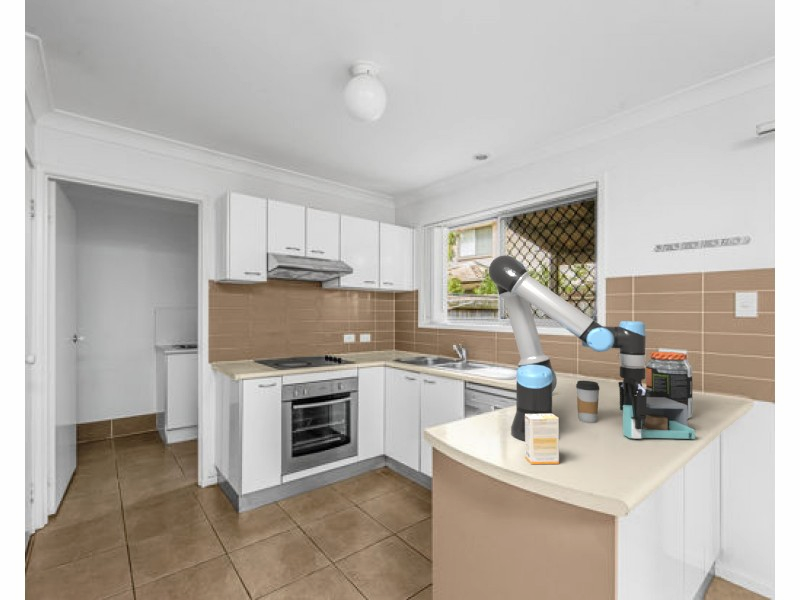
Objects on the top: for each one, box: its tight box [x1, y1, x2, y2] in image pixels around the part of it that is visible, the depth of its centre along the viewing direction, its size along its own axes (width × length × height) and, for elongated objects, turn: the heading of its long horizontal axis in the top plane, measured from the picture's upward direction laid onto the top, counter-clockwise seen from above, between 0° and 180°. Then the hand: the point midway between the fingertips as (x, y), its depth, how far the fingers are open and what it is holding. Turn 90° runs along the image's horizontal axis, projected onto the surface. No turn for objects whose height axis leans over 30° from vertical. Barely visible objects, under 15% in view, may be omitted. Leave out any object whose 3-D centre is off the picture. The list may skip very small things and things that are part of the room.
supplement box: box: [524, 413, 560, 465], centre depth 110 cm, size 8×5×13 cm, turn 92°
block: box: [644, 414, 668, 430], centre depth 140 cm, size 5×5×5 cm
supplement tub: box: [645, 351, 694, 419], centre depth 160 cm, size 16×16×26 cm
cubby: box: [642, 397, 689, 428], centre depth 142 cm, size 13×12×10 cm
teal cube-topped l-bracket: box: [622, 405, 696, 440], centre depth 134 cm, size 22×11×10 cm, turn 88°
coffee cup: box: [575, 380, 600, 424], centre depth 151 cm, size 8×8×15 cm
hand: (632, 435), depth 131 cm, fingers closed on teal cube-topped l-bracket, 4 cm apart
